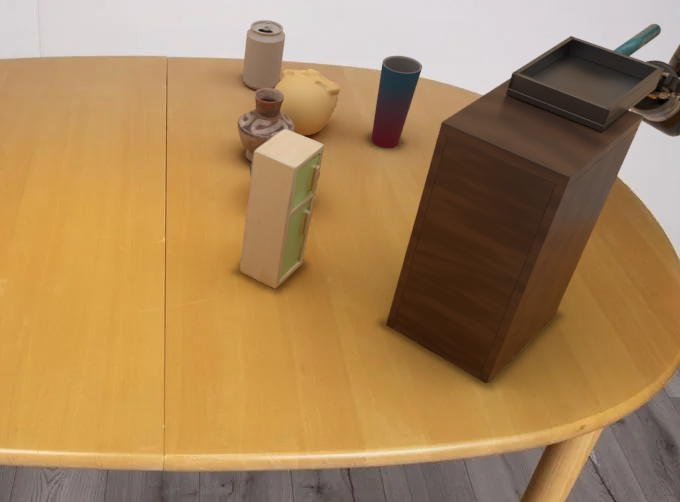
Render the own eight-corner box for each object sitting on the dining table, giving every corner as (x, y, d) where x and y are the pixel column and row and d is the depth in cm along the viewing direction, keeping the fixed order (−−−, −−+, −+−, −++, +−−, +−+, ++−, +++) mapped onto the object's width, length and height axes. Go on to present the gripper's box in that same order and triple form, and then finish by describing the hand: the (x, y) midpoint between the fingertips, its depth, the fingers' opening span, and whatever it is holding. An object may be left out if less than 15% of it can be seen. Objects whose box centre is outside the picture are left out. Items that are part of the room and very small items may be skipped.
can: (237, 88, 174) (243, 29, 166) (247, 72, 179) (253, 15, 171) (274, 95, 173) (281, 36, 165) (282, 79, 178) (290, 21, 170)
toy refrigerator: (279, 292, 128) (299, 169, 114) (238, 272, 131) (252, 149, 117) (307, 266, 133) (329, 145, 118) (267, 247, 136) (284, 126, 121)
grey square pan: (601, 132, 102) (610, 110, 100) (505, 93, 108) (512, 72, 106) (695, 56, 118) (705, 36, 116) (607, 27, 124) (615, 7, 122)
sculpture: (340, 125, 165) (351, 71, 158) (308, 150, 158) (317, 95, 151) (289, 105, 170) (296, 52, 163) (255, 128, 163) (261, 74, 155)
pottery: (285, 140, 160) (293, 80, 152) (322, 220, 142) (333, 156, 134) (224, 143, 158) (230, 82, 150) (254, 224, 140) (262, 159, 132)
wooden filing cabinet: (486, 383, 116) (570, 177, 94) (385, 324, 124) (441, 121, 102) (555, 314, 127) (644, 115, 105) (458, 264, 135) (522, 70, 113)
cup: (398, 154, 158) (417, 76, 148) (361, 144, 160) (378, 67, 150) (407, 137, 163) (426, 61, 153) (371, 128, 165) (388, 52, 155)
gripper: (621, 52, 140) (604, 27, 126) (713, 83, 133) (704, 60, 119) (597, 97, 142) (577, 77, 129) (685, 130, 135) (674, 112, 122)
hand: (638, 69), depth 124 cm, fingers open, 8 cm apart
